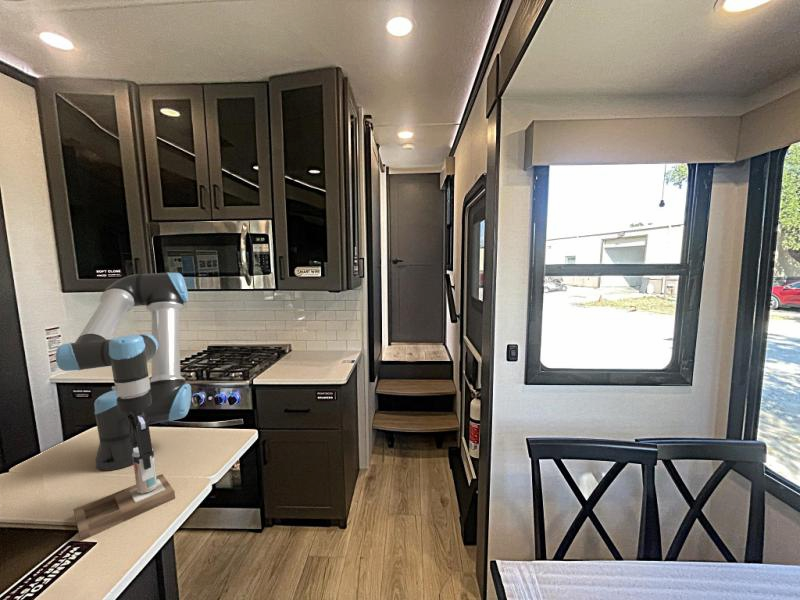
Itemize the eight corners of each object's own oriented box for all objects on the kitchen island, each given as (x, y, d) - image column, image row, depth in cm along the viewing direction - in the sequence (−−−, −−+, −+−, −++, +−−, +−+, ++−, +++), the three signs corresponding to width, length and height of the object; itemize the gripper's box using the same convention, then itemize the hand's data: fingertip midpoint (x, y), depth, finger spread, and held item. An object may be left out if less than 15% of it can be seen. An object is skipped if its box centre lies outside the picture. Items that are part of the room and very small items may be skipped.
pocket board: (75, 517, 96) (73, 508, 96) (163, 480, 110) (162, 473, 110) (80, 540, 88) (79, 531, 87) (175, 498, 102) (174, 490, 102)
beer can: (143, 485, 104) (138, 445, 103) (161, 483, 105) (156, 443, 104) (133, 495, 100) (127, 454, 98) (152, 494, 100) (146, 452, 99)
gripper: (109, 389, 102) (121, 466, 105) (124, 407, 89) (136, 495, 92) (141, 381, 108) (152, 455, 111) (159, 398, 94) (170, 481, 98)
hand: (145, 473), depth 101 cm, fingers open, 6 cm apart
